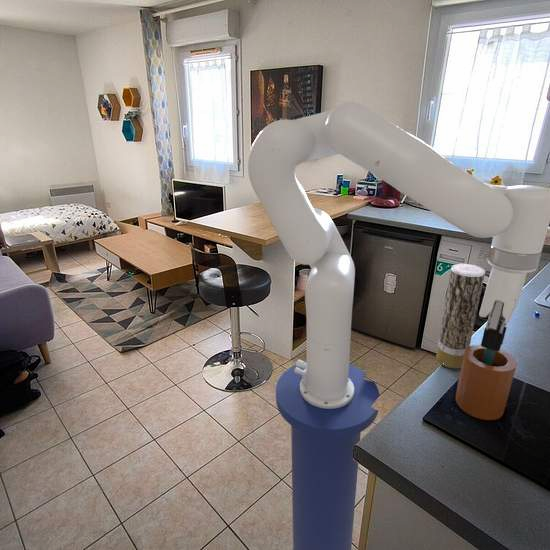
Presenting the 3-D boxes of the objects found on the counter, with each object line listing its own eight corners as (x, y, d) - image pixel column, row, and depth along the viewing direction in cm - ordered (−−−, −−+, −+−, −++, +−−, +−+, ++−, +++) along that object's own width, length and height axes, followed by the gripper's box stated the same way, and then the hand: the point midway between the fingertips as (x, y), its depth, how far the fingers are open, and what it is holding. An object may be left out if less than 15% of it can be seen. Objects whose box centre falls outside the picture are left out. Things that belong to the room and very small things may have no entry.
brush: (467, 392, 76) (483, 321, 69) (472, 382, 78) (488, 313, 72) (488, 401, 73) (508, 328, 67) (492, 390, 76) (511, 319, 70)
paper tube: (465, 357, 92) (484, 265, 83) (465, 372, 87) (486, 276, 77) (436, 351, 95) (451, 262, 85) (435, 366, 89) (451, 272, 80)
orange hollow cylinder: (450, 407, 77) (459, 359, 72) (461, 384, 83) (471, 339, 78) (498, 427, 71) (512, 377, 67) (507, 401, 78) (520, 354, 73)
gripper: (498, 243, 72) (479, 323, 79) (479, 266, 61) (460, 357, 68) (543, 250, 68) (519, 334, 75) (532, 276, 57) (505, 373, 64)
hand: (491, 344), depth 71 cm, fingers closed on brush
